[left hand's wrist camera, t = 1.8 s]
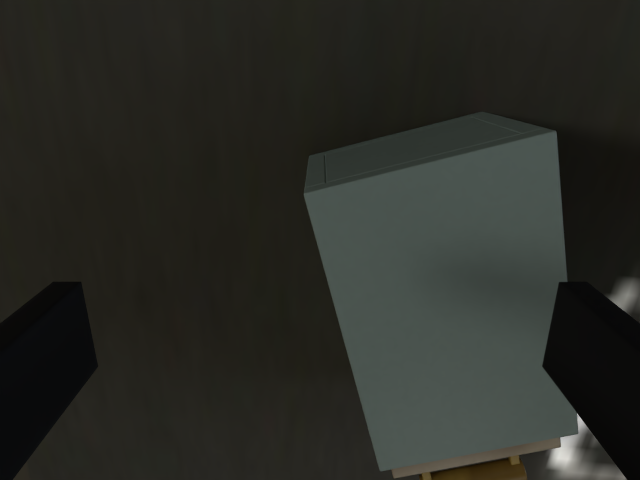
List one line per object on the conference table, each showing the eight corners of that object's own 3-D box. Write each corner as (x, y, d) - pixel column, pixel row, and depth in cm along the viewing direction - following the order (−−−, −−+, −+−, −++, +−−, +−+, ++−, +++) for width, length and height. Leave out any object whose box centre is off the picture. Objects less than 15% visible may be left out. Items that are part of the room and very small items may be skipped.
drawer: (518, 422, 36) (566, 509, 29) (392, 446, 37) (409, 537, 30) (485, 166, 29) (538, 197, 22) (329, 204, 30) (332, 246, 23)
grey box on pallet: (511, 338, 35) (578, 434, 26) (365, 369, 36) (380, 471, 27) (482, 110, 29) (557, 130, 20) (308, 155, 30) (303, 193, 21)
